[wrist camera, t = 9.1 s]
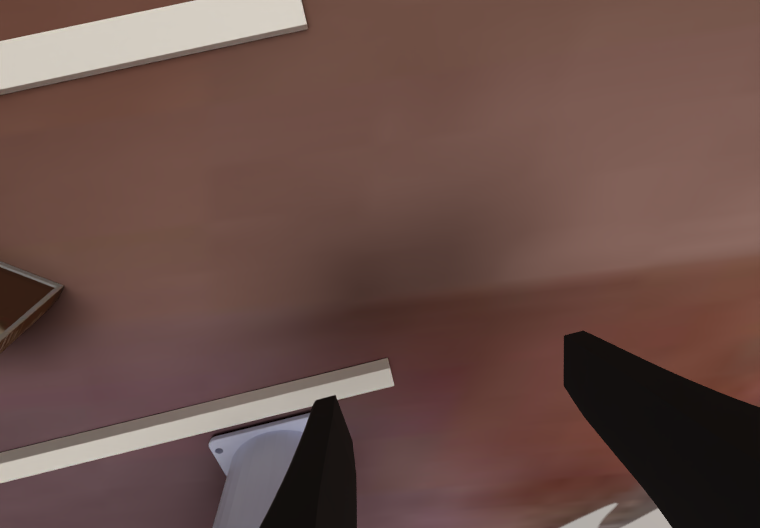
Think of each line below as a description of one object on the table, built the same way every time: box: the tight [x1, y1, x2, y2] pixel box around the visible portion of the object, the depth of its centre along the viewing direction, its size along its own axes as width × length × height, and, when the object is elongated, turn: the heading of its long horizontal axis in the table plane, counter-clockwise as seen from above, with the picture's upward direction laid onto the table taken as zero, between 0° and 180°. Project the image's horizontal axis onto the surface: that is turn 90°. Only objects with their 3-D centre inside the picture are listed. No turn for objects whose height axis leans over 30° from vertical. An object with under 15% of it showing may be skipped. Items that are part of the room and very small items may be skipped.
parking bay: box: [0, 0, 394, 483], centre depth 18 cm, size 22×32×1 cm
